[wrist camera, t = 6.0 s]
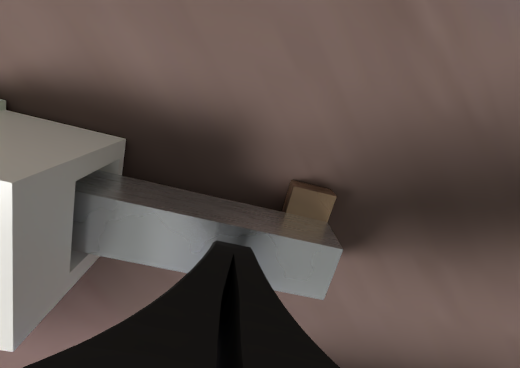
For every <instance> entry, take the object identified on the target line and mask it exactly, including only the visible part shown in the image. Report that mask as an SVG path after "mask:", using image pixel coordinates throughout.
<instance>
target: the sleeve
mask: <svg viewBox="0 0 520 368" xmlns="http://www.w3.org/2000/svg"><path fill="white" fill-rule="evenodd" d="M125 144H126V139H125V138H121V137H116V136H112V135H108V134H104V133H100V132H96V131H91V130H87V129H83V128H79V127H75V126H71V125H66V124H62V123H58V122H54V121H50V120H46V119H41V118H37V117H33V116H29V115H25V114H21V113H16V112H12V111H8V110H0V350H4V351H10V352H13V351H14V350H15V349H16V348H17V347H18V346H19V345H20V344H21V343H22V342H23V341H24V339H25V338H26V337H27V336H28V335H29V334H30V333H31V332H32V331H33V330H34V328H35V327H36V326H37V325H38V324H39V323H40V322H41V321H42V320H43V319H44V317H45V316H46V315H47V314H48V313H49V312H50V311H51V310H52V309H53V308H54V307H55V305H56V304H57V303H58V302H59V301H60V300H61V299H62V298H63V297H64V296H65V294H66V293H67V292H68V291H69V290H70V289H71V288H72V287H73V286H74V285H75V283H76V282H77V281H78V280H79V279H80V278H81V277H82V276H83V275H84V274H85V273H86V271H87V270H88V269H89V268H90V267H91V266H92V265H93V264H94V263H95V262H96V260H97V259H98V258H99V257H100V256H98V255H93V254H87V253H82V252H77V251H72V250H71V244H72V228H73V213H74V197H75V182H76V181H77V180H79V179H81V178H83V177H85V176H87V175H88V174H90V173H92V172H94V171H96V170H100V171H104V172H109V173H113V174H117V175H122V170H123V161H124V153H125Z"/></svg>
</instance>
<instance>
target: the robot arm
mask: <svg viewBox="0 0 520 368" xmlns="http://www.w3.org/2000/svg"><path fill="white" fill-rule="evenodd" d="M23 368H340V367H339V366H338V365H337V364H336V363H334V362H333V361H332V360H331V359H330V358H329V357H328V356H327V355H326V354H325V353H324V352H323V351H322V350H321V349H320V348H319V347H318V346H317V345H316V344H315V342H314V341H313V340H312V339H311V338H310V337H309V336H308V335H307V334H306V333H305V332H304V331H303V329H302V328H301V327H300V326H299V325H298V323H297V322H296V321H295V320H294V318H293V317H292V316H291V315H290V313H289V312H288V311H287V309H286V308H285V307H284V305H283V304H282V302H281V301H280V299H279V298H278V296H277V295H276V293H275V292H274V290H273V288H272V287H271V285H270V283H269V282H268V280H267V278H266V276H265V274H264V273H263V271H262V269H261V267H260V265H259V263H258V261H257V259H256V256H255V254H254V252H253V250H252V249H251V247H247V246H242V245H237V244H232V243H227V242H223V241H218V240H216V241H215V242H213V243H212V245H211V247H210V248H209V250H208V251H207V253H206V254H205V255H204V256H203V257H202V259H201V260H200V261H199V262H198V263H197V264H196V265H195V266H194V267H193V268H192V269H191V270H190V271H189V272H188V273H187V274H186V275H185V276H184V277H183V278H182V279H181V280H180V281H179V282H178V283H176V284H175V285H174V286H173V287H172V288H171V289H169V290H168V291H167V292H166V293H164V294H163V295H162V296H160V297H159V298H158V299H156V300H155V301H153V302H152V303H151V304H149V305H148V306H146V307H145V308H143V309H142V310H140V311H139V312H137V313H135V314H134V315H132V316H131V317H129V318H127V319H126V320H124V321H122V322H121V323H119V324H117V325H115V326H113V327H111V328H109V329H107V330H106V331H104V332H102V333H100V334H98V335H96V336H94V337H92V338H91V339H89V340H86V341H84V342H82V343H80V344H78V345H76V346H73V347H71V348H69V349H66V350H64V351H62V352H59V353H57V354H54V355H52V356H50V357H47V358H45V359H43V360H40V361H38V362H35V363H33V364H30V365H28V366H25V367H23Z"/></svg>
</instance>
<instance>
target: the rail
mask: <svg viewBox="0 0 520 368" xmlns="http://www.w3.org/2000/svg"><path fill="white" fill-rule="evenodd" d="M336 197H337V196H336V195H335V194H334V193H333V191H332V190H331V189H328V188H324V187H319V186H315V185H311V184H307V183H303V182H299V181H294V180H291V182H290V185H289V188H288V191H287V195H286V198H285V201H284V205H283V208H282V211H281V212H280V211H276V210H272V209H267V208H263V207H258V206H254V205H250V204H245V203H241V202H236V201H232V200H228V199H223V198H219V197H214V196H210V195H206V194H201V193H197V192H192V191H188V190H183V189H179V188H175V187H170V186H166V185H161V184H157V183H153V182H148V181H144V180H139V179H135V178H131V177H126V176H122V175H117V174H113V173H109V172H104V171H100V170H96V171H94V172H92V173H90V174H88V175H87V176H85V177H83V178H81V179H79V180H77V181H76V182H75V197H74V213H73V228H72V244H71V250H72V251H77V252H82V253H87V254H93V255H98V256H103V257H108V258H113V259H118V260H123V261H128V262H133V263H138V264H143V265H148V266H153V267H158V268H163V269H169V270H174V271H179V272H184V273H188V272H189V271H190V270H191V269H192V268H193V267H194V266H195V265H196V264H197V263H198V262H199V261H200V260H201V259H202V257H203V256H204V255H205V254H206V253H207V251H208V250H209V248H210V247H211V245H212V243H213V242H215V241H216V240H218V241H223V242H227V243H232V244H237V245H242V246H247V247H251V249H252V250H253V252H254V254H255V256H256V259H257V261H258V263H259V265H260V267H261V269H262V271H263V273H264V274H265V276H266V278H267V280H268V282H269V283H270V285H271V287H272V288H273V290H275V291H280V292H285V293H290V294H295V295H300V296H305V297H311V298H316V299H321V300H324V298H325V295H326V292H327V290H328V287H329V285H330V282H331V280H332V277H333V275H334V272H335V269H336V267H337V264H338V262H339V259H340V257H341V254H342V251H343V248H342V247H341V245H340V243H339V241H338V240H337V238H336V236H335V234H334V233H333V231H332V229H331V227H330V226H329V224H328V219H329V217H330V214H331V211H332V208H333V205H334V203H335V200H336Z"/></svg>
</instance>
